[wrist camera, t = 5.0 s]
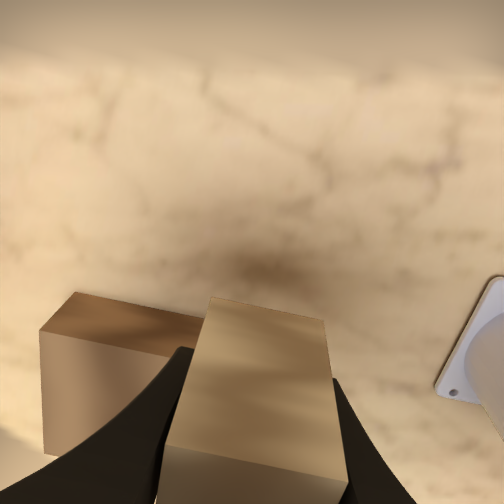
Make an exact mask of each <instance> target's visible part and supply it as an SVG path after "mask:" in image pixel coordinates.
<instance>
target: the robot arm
mask: <svg viewBox="0 0 504 504" xmlns="http://www.w3.org/2000/svg"><path fill="white" fill-rule="evenodd" d="M194 351H195V349H193V348H188V347H184V346H180V347H178V348H177V349H176V351H175V352H174V354H173V355H172V357H171V358H170V359H169V361H168V362H167V363H166V365H165V366H164V367H163V368H162V369H161V371H160V372H159V373H158V374H157V375H156V376H155V377H154V379H153V380H152V381H151V382H150V383H149V384H148V385H147V386H146V387H145V388H144V389H143V391H141V392H140V393H139V394H138V395H137V396H136V397H135V398H134V399H133V400H132V401H131V402H130V403H129V404H128V405H127V406H126V407H125V408H124V409H123V410H122V411H121V412H119V413H118V414H117V415H116V416H115V417H114V418H112V419H111V420H110V421H109V422H108V423H106V424H105V425H104V426H103V427H101V428H100V429H99V430H98V431H96V432H95V433H94V434H92V435H91V436H90V437H88V438H87V439H86V440H84V441H83V442H81V443H80V444H79V445H77V446H76V447H74V448H73V449H71V450H70V451H68V452H67V453H65V454H64V455H62V456H60V457H59V458H57V459H56V460H54V461H53V462H51V463H50V464H48V465H46V466H45V467H44V468H42V469H40V470H38V471H37V472H35V473H33V474H31V475H29V476H27V477H26V478H24V479H22V480H20V481H19V482H16V483H15V484H13V485H11V486H9V487H7V488H6V489H4V490H2V491H0V504H154V502H155V499H156V496H157V492H158V486H159V480H160V474H161V467H162V461H163V455H164V448H165V443H166V440H167V437H168V434H169V430H170V427H171V424H172V421H173V418H174V415H175V411H176V408H177V405H178V402H179V399H180V396H181V392H182V389H183V386H184V383H185V380H186V377H187V373H188V370H189V367H190V364H191V361H192V357H193V354H194ZM332 380H333V386H334V393H335V399H336V406H337V412H338V418H339V425H340V431H341V437H342V444H343V450H344V456H345V463H346V469H347V476H348V484H347V486H346V489H345V491H344V493H343V495H342V497H341V499H340V501H339V503H338V504H417V503H416V502H415V501H414V499H413V498H412V497H411V496H410V495H409V493H408V492H407V491H406V490H405V488H404V487H403V486H402V484H401V483H400V482H399V481H398V479H397V478H396V477H395V475H394V474H393V473H392V471H391V470H390V469H389V467H388V466H387V464H386V463H385V461H384V460H383V458H382V457H381V455H380V454H379V452H378V451H377V449H376V448H375V446H374V445H373V443H372V441H371V440H370V438H369V437H368V435H367V433H366V432H365V430H364V428H363V427H362V425H361V423H360V421H359V420H358V418H357V416H356V414H355V413H354V411H353V409H352V407H351V405H350V404H349V402H348V400H347V398H346V396H345V394H344V392H343V390H342V388H341V387H340V385H339V383H338V381H337V379H335V378H332ZM434 388H435V391H436V393H437V394H438V395H439V396H441V397H445V398H450V399H455V400H460V401H465V402H469V403H474V404H479V405H482V406H483V408H484V409H485V411H486V413H487V414H488V416H489V418H490V419H491V421H492V423H493V425H494V426H495V428H496V430H497V431H498V433H499V435H500V436H501V438H502V440H503V442H504V277H496V278H494V279H492V280H491V281H490V282H489V284H488V286H487V288H486V290H485V291H484V293H483V295H482V297H481V299H480V301H479V303H478V305H477V307H476V308H475V310H474V312H473V314H472V316H471V318H470V320H469V322H468V323H467V325H466V327H465V329H464V331H463V333H462V335H461V337H460V339H459V340H458V342H457V344H456V346H455V348H454V350H453V352H452V354H451V356H450V357H449V359H448V361H447V363H446V365H445V367H444V369H443V371H442V373H441V374H440V376H439V378H438V380H437V382H436V384H435V387H434ZM453 389H455V390H453ZM451 390H453V391H451Z"/></svg>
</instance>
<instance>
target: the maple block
mask: <svg viewBox="0 0 504 504" xmlns="http://www.w3.org/2000/svg"><path fill="white" fill-rule="evenodd" d="M347 484H348V476H347V469H346V463H345V456H344V450H343V444H342V437H341V431H340V425H339V418H338V412H337V406H336V399H335V393H334V386H333V380H332V374H331V367H330V361H329V355H328V348H327V342H326V335H325V329H324V323H323V321H322V320H318V319H313V318H308V317H304V316H299V315H294V314H290V313H285V312H280V311H276V310H271V309H266V308H262V307H257V306H252V305H248V304H243V303H238V302H234V301H229V300H224V299H220V298H215V297H211V300H210V303H209V307H208V310H207V313H206V316H205V319H204V323H203V326H202V329H201V332H200V335H199V338H198V342H197V345H196V348H195V351H194V354H193V357H192V361H191V364H190V367H189V370H188V373H187V377H186V380H185V383H184V386H183V389H182V392H181V396H180V399H179V402H178V405H177V408H176V411H175V415H174V418H173V421H172V424H171V427H170V430H169V434H168V437H167V440H166V443H165V448H164V455H163V461H162V467H161V474H160V480H159V486H158V492H157V499H156V504H338V503H339V501H340V499H341V497H342V495H343V493H344V491H345V489H346V486H347Z"/></svg>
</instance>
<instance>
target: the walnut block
mask: <svg viewBox="0 0 504 504" xmlns="http://www.w3.org/2000/svg"><path fill="white" fill-rule="evenodd" d="M203 323H204V319H202V318H197V317H193V316H188V315H183V314H178V313H174V312H169V311H164V310H159V309H155V308H150V307H145V306H140V305H135V304H131V303H126V302H121V301H116V300H112V299H107V298H102V297H97V296H93V295H88V294H83V293H78V292H75V293H74V294H73V295H72V296H71V297H70V298H69V299H68V300H67V301H66V302H65V303H64V304H63V305H62V306H61V307H60V309H59V310H58V311H57V312H56V313H55V314H54V315H53V316H52V317H51V318H50V319H49V320H48V321H47V322H46V323H45V325H44V326H43V327H42V328H41V329H40V330H39V343H40V367H41V391H42V416H43V440H44V454H49V455H54V456H59V457H60V456H62V455H64V454H65V453H67V452H68V451H70V450H71V449H73V448H74V447H76V446H77V445H79V444H80V443H81V442H83V441H84V440H86V439H87V438H88V437H90V436H91V435H92V434H94V433H95V432H96V431H98V430H99V429H100V428H101V427H103V426H104V425H105V424H106V423H108V422H109V421H110V420H111V419H112V418H114V417H115V416H116V415H117V414H118V413H119V412H121V411H122V410H123V409H124V408H125V407H126V406H127V405H128V404H129V403H130V402H131V401H132V400H133V399H134V398H135V397H136V396H137V395H138V394H139V393H140V392H141V391H143V389H144V388H145V387H146V386H147V385H148V384H149V383H150V382H151V381H152V380H153V379H154V377H155V376H156V375H157V374H158V373H159V372H160V371H161V369H162V368H163V367H164V366H165V365H166V363H167V362H168V361H169V359H170V358H171V357H172V355H173V354H174V352H175V351H176V349H177V348H178V347H180V346H184V347H188V348H193V349H195V348H196V345H197V342H198V338H199V335H200V332H201V329H202V326H203Z"/></svg>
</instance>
